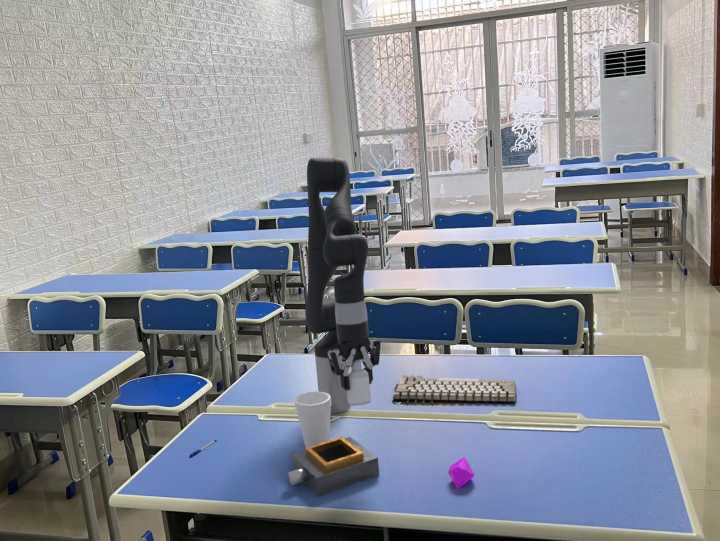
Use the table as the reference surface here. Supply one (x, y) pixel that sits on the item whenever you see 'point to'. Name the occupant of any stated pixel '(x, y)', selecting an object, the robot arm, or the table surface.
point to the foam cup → (314, 417)
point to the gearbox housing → (333, 465)
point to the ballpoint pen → (201, 449)
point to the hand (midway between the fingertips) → (357, 386)
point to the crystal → (460, 472)
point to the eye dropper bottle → (358, 385)
